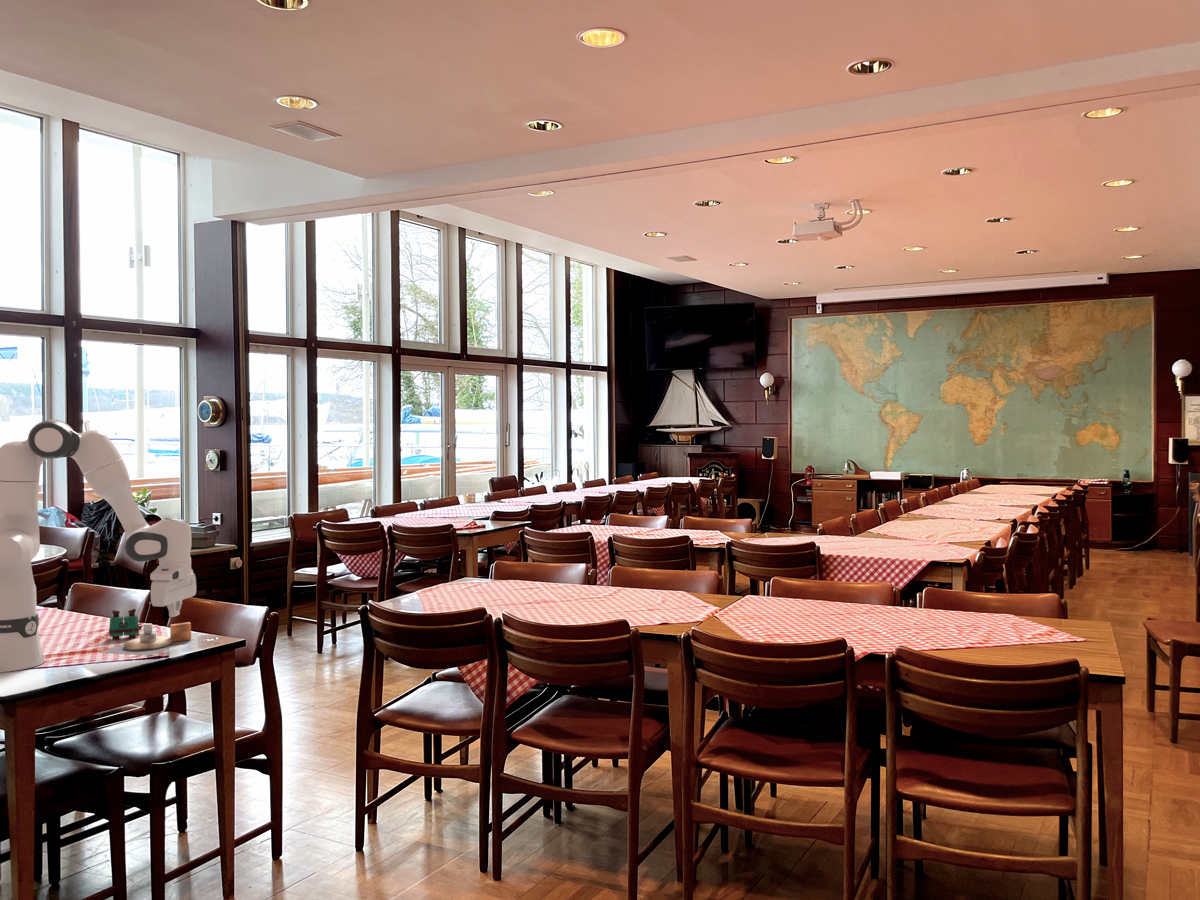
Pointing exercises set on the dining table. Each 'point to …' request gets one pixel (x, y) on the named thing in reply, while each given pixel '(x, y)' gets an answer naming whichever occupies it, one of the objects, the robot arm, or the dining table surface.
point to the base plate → (147, 630)
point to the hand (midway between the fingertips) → (174, 616)
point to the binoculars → (124, 625)
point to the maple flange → (160, 638)
